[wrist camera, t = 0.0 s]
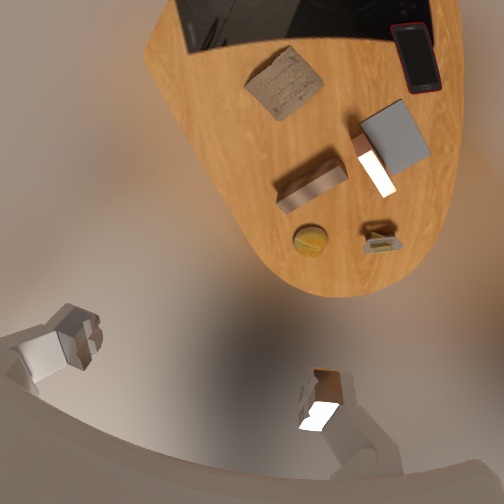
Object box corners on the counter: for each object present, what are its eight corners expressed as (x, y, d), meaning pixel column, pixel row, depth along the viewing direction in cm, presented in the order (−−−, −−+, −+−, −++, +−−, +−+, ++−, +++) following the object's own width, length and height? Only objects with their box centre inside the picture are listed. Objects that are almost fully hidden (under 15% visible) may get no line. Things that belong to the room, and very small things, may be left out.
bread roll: (332, 230, 69) (333, 241, 67) (318, 255, 76) (318, 265, 73) (302, 220, 69) (301, 230, 66) (289, 245, 75) (288, 256, 72)
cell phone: (408, 94, 43) (410, 95, 42) (387, 25, 35) (389, 25, 34) (441, 89, 40) (443, 90, 39) (422, 21, 32) (424, 21, 31)
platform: (343, 216, 66) (345, 234, 62) (413, 209, 61) (421, 225, 56) (347, 253, 74) (349, 271, 69) (411, 246, 68) (416, 263, 63)
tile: (362, 132, 51) (371, 149, 45) (386, 169, 55) (396, 190, 49) (351, 139, 53) (357, 157, 46) (375, 175, 57) (383, 197, 50)
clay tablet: (292, 42, 42) (292, 43, 40) (330, 80, 45) (331, 82, 44) (240, 90, 50) (237, 93, 48) (276, 124, 54) (275, 128, 52)
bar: (336, 155, 56) (339, 165, 52) (345, 167, 57) (348, 178, 54) (278, 191, 65) (275, 203, 61) (287, 202, 66) (286, 214, 62)
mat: (401, 99, 44) (401, 99, 44) (430, 153, 50) (431, 154, 50) (359, 123, 50) (359, 124, 50) (392, 175, 56) (392, 176, 56)
